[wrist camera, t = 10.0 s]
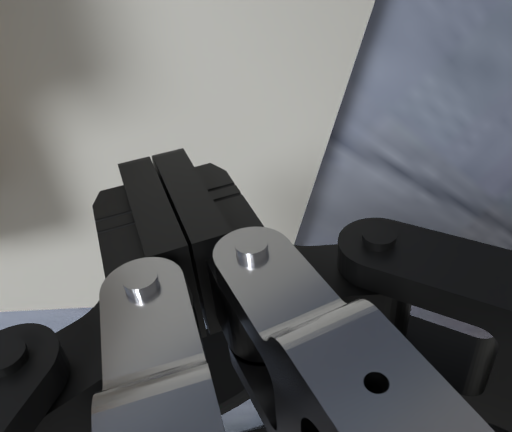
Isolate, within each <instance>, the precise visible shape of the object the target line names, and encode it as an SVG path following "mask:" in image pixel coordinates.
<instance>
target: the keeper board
mask: <svg viewBox="0 0 512 432" xmlns="http://www.w3.org/2000/svg"><path fill="white" fill-rule="evenodd" d="M374 3H375V0H0V312H8V311H28V310H48V309H68V308H88V307H94V306H95V305H96V304H97V303H98V301H99V292H100V288H101V285H102V283H103V282H104V280H105V274H104V269H103V263H102V258H101V252H100V247H99V241H98V234H97V230H96V224H95V219H94V213H93V208H92V205H93V203H94V201H95V199H96V197H97V195H98V194H99V192H100V191H102V190H106V189H110V188H114V187H118V186H122V185H123V181H122V178H121V175H120V171H119V167H118V164H120V163H124V162H128V161H132V160H136V159H140V158H144V157H148V156H149V157H150V158H151V161H152V155H156V154H160V153H164V152H169V151H173V150H177V149H181V148H183V149H184V150H185V152H186V154H187V155H188V157H189V159H190V160H191V162H192V164H193V166H194V167H196V166H200V165H204V164H208V163H212V164H214V165H216V166H218V167H220V168H222V169H224V170H226V171H227V173H228V174H229V176H230V177H231V179H232V180H233V182H234V184H235V185H236V186H237V187H238V189H239V190H240V192H241V195H243V196H244V198H245V199H246V201H247V202H248V204H249V205H250V206H251V208H252V209H253V211H254V212H255V214H256V215H257V217H258V218H259V220H260V221H261V223H262V224H263V226H264V227H266V228H271V229H274V230H276V231H279V232H280V233H282V234H283V235H285V236H286V237H287V238H288V239H289V241H290V242H291V243H292V244H293V245H294V243H295V240H296V237H297V234H298V231H299V228H300V225H301V222H302V219H303V216H304V213H305V210H306V207H307V204H308V201H309V198H310V195H311V192H312V189H313V186H314V183H315V180H316V177H317V174H318V171H319V168H320V165H321V162H322V159H323V156H324V153H325V150H326V147H327V144H328V141H329V138H330V135H331V132H332V129H333V126H334V123H335V120H336V117H337V114H338V111H339V108H340V105H341V102H342V99H343V96H344V93H345V90H346V87H347V84H348V81H349V78H350V75H351V72H352V69H353V66H354V63H355V60H356V57H357V54H358V51H359V48H360V45H361V42H362V39H363V36H364V33H365V30H366V27H367V24H368V21H369V18H370V15H371V12H372V9H373V6H374ZM152 163H153V162H152Z"/></svg>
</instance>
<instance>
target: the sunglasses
mask: <svg viewBox="0 0 512 432" xmlns="http://www.w3.org/2000/svg"><path fill="white" fill-rule="evenodd" d="M206 333H207V337H204V338H202V341H203V346H204V350H205V355H206V360H207V363H208V367H209V371H210V374H211V378H212V382H213V386H214V390H215V393H216V397H217V401H218V405H219V409H220V413H221V415H223V414H224V413H226V412H228V411H230V410H232V409H233V408H235V407H237V406H239V405H241V404H242V403H244V402H245V401H247V400H248V399H250V397H249V395H248V393H247V392H246V390H245V388H244V386H243V384H242V382H241V380H240V378H239V376H238V374H237V373H236V371H235V369H234V367H233V365H232V362H231V358H230V352H229V347H228V342H227V340H226V338H225V335H224V333H223V331H220V332H218V333H215V334H212V335H210V333H209V330H208V329H206ZM249 432H268V431H267V429H266V428H261V429H257V430H253V431H249Z"/></svg>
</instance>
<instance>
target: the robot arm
mask: <svg viewBox="0 0 512 432" xmlns="http://www.w3.org/2000/svg"><path fill="white" fill-rule="evenodd" d="M152 162H153V163H152ZM118 167H119V171H120V175H121V178H122V181H123V185H122V186H118V187H114V188H110V189H106V190H102V191H100V192H99V194H98V195H97V197H96V199H95V201H94V203H93V205H92V208H93V213H94V219H95V224H96V230H97V234H98V241H99V247H100V252H101V258H102V263H103V269H104V274H105V280H104V282H103V283H102V285H101V288H100V292H99V301H98V303H97V304H96V305H95V306H94V307H93V308H92V309H91V310H90V311H89V312H88V313H87V314H85V315H84V316H83V317H82V318H80V319H78V320H77V321H75V322H74V323H72V324H70V325H68V326H67V327H65V328H63V329H62V330H60V331H58V332H56V333H54V332H53V331H52V330H51V329H50V328H48V327H47V326H44V325H41V324H35V323H25V324H19V325H15V326H11V327H8V328H5V329H3V330H0V432H225V428H224V424H223V420H222V416H221V413H220V409H219V405H218V401H217V397H216V393H215V390H214V386H213V382H212V378H211V374H210V371H209V367H208V363H207V360H206V355H205V350H204V346H203V341H202V338H204V337H207V333H206V328H205V324H204V320H205V323H206V325H207V328H208V330H209V333H210V335H212V334H215V333H218V332H220V331H223V333H224V335H225V338H226V340H227V342H228V347H229V352H230V358H231V362H232V365H233V367H234V369H235V371H236V373H237V374H238V376H239V378H240V380H241V382H242V384H243V386H244V388H245V390H246V392H247V393H248V395H249V397H250V399H251V401H252V403H253V405H254V407H255V409H256V410H257V412H258V414H259V416H260V418H261V420H262V422H263V424H264V426H265V428H266V429H267V431H268V432H512V250H508V249H504V248H500V247H496V246H492V245H488V244H484V243H481V242H477V241H473V240H469V239H465V238H461V237H457V236H453V235H449V234H445V233H441V232H437V231H433V230H429V229H426V228H422V227H418V226H414V225H410V224H406V223H402V222H398V221H394V220H390V219H385V218H365V219H361V220H357V221H354V222H352V223H350V224H348V225H347V226H346V227H344V228H343V230H342V231H341V232H340V234H339V237H338V244H335V245H322V246H297V245H293V244H292V243H291V242H290V241H289V239H288V238H287V237H286V236H285V235H283V234H282V233H280V232H279V231H276V230H274V229H271V228H266V227H264V226H263V224H262V223H261V221H260V220H259V218H258V217H257V215H256V214H255V212H254V211H253V209H252V208H251V206H250V205H249V204H248V202H247V201H246V199H245V198H244V196H243V195H241V192H240V190H239V189H238V187H237V186H236V185H235V184H234V182H233V180H232V179H231V177H230V176H229V174H228V173H227V171H226V170H224V169H222V168H220V167H218V166H216V165H214V164H212V163H208V164H204V165H200V166H196V167H194V166H193V164H192V162H191V160H190V159H189V157H188V155H187V154H186V152H185V150H184V149H183V148H181V149H177V150H173V151H169V152H164V153H160V154H156V155H152V161H151V158H150V157H149V156H148V157H144V158H140V159H136V160H132V161H128V162H124V163H120V164H118ZM411 305H414V306H417V307H420V308H423V309H426V310H429V311H432V312H435V313H438V314H441V315H444V316H447V317H450V318H453V319H456V320H459V321H462V322H465V323H468V324H471V325H474V326H477V327H480V328H482V329H484V330H486V331H487V332H489V333H490V334H491V335H492V336H493V338H489V339H480V338H476V337H473V336H470V335H467V334H464V333H461V332H458V331H455V330H452V329H449V328H446V327H443V326H440V325H438V324H435V323H432V322H429V321H426V320H423V319H420V318H417V317H414V316H411V315H410V311H411ZM203 318H204V319H203Z"/></svg>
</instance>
